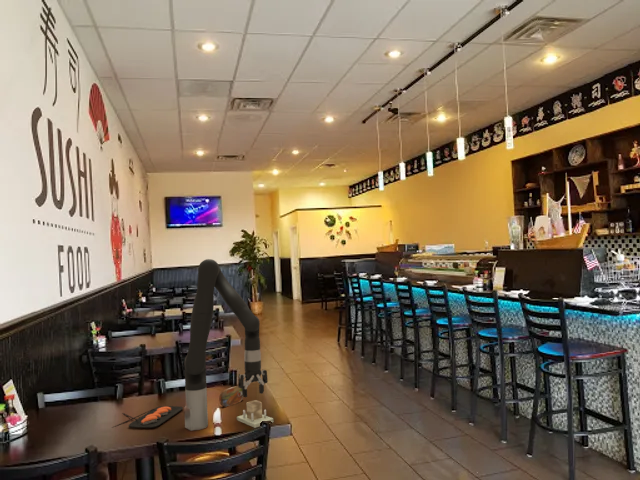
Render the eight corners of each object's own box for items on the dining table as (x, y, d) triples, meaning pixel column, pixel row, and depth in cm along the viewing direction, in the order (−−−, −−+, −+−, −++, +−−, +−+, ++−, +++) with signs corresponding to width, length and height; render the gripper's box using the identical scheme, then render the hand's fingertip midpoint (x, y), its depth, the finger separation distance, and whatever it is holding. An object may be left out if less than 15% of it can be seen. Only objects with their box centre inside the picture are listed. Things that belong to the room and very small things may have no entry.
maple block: (252, 420, 224) (252, 404, 225) (247, 417, 228) (246, 402, 228) (262, 417, 228) (261, 402, 228) (256, 415, 231) (255, 400, 232)
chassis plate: (254, 427, 219) (254, 416, 219) (236, 420, 230) (236, 409, 231) (273, 422, 225) (273, 410, 226) (255, 414, 237) (254, 404, 237)
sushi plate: (155, 431, 222) (154, 422, 222) (95, 429, 228) (94, 421, 228) (185, 410, 250) (185, 402, 250) (131, 409, 256) (130, 401, 256)
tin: (222, 408, 249) (222, 391, 249) (218, 407, 250) (217, 391, 251) (244, 400, 260) (243, 384, 261) (240, 399, 262) (239, 383, 263)
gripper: (243, 363, 221) (244, 400, 221) (270, 358, 230) (271, 393, 230) (234, 360, 227) (235, 396, 226) (261, 355, 236) (261, 390, 236)
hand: (253, 395), depth 228 cm, fingers open, 8 cm apart
